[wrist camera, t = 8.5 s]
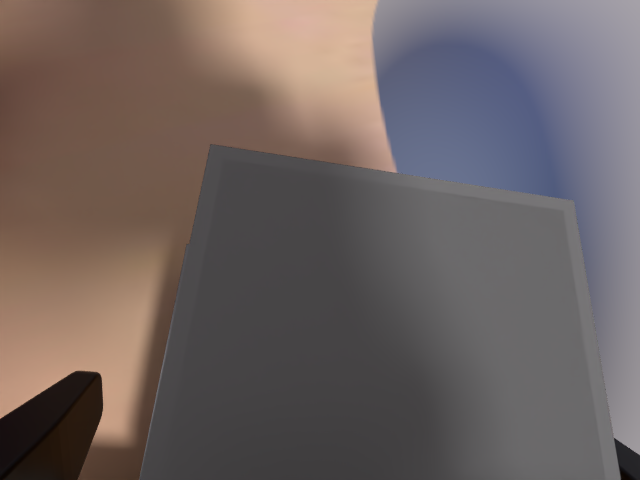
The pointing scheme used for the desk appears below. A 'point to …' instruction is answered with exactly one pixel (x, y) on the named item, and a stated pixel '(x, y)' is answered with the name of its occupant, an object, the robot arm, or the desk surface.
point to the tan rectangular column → (378, 332)
